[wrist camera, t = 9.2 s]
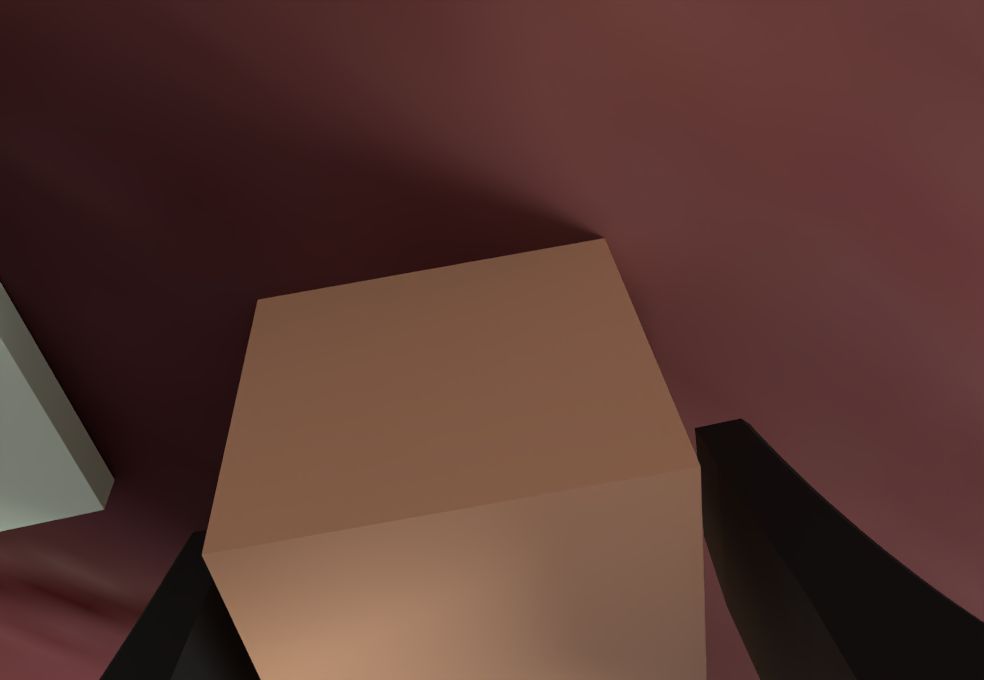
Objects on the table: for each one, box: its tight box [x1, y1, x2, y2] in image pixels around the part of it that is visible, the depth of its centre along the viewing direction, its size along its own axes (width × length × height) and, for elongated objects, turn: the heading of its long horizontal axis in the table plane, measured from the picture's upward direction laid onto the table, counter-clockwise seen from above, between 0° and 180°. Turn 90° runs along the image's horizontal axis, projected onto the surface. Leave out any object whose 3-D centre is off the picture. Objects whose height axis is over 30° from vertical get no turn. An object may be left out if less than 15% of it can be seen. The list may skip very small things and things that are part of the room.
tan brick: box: [202, 238, 707, 680], centre depth 12 cm, size 4×6×4 cm
